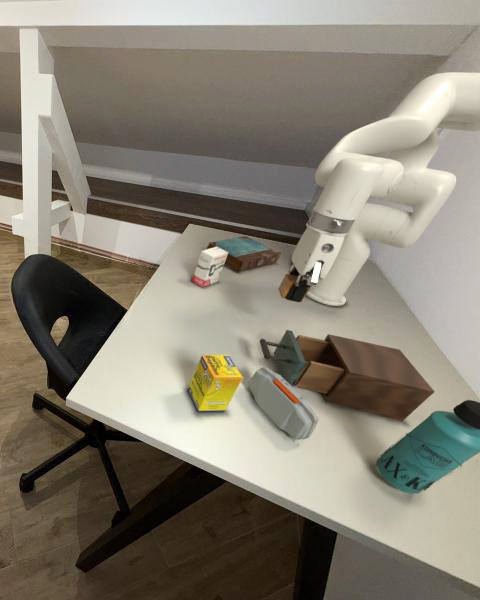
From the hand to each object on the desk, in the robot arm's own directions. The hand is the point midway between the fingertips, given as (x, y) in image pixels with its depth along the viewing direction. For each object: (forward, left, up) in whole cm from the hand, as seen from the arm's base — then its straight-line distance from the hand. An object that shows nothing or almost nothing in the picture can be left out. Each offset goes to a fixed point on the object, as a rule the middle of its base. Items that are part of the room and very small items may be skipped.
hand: (290, 294), depth 76 cm
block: (0, 0, 0) cm, 0 cm away
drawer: (+9, +8, -15) cm, 19 cm away
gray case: (+25, +6, -16) cm, 30 cm away
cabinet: (+5, +20, -15) cm, 25 cm away
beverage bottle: (+26, +26, -16) cm, 40 cm away
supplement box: (+31, -6, -16) cm, 35 cm away
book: (-51, -19, -16) cm, 57 cm away
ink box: (-21, -23, -16) cm, 35 cm away
